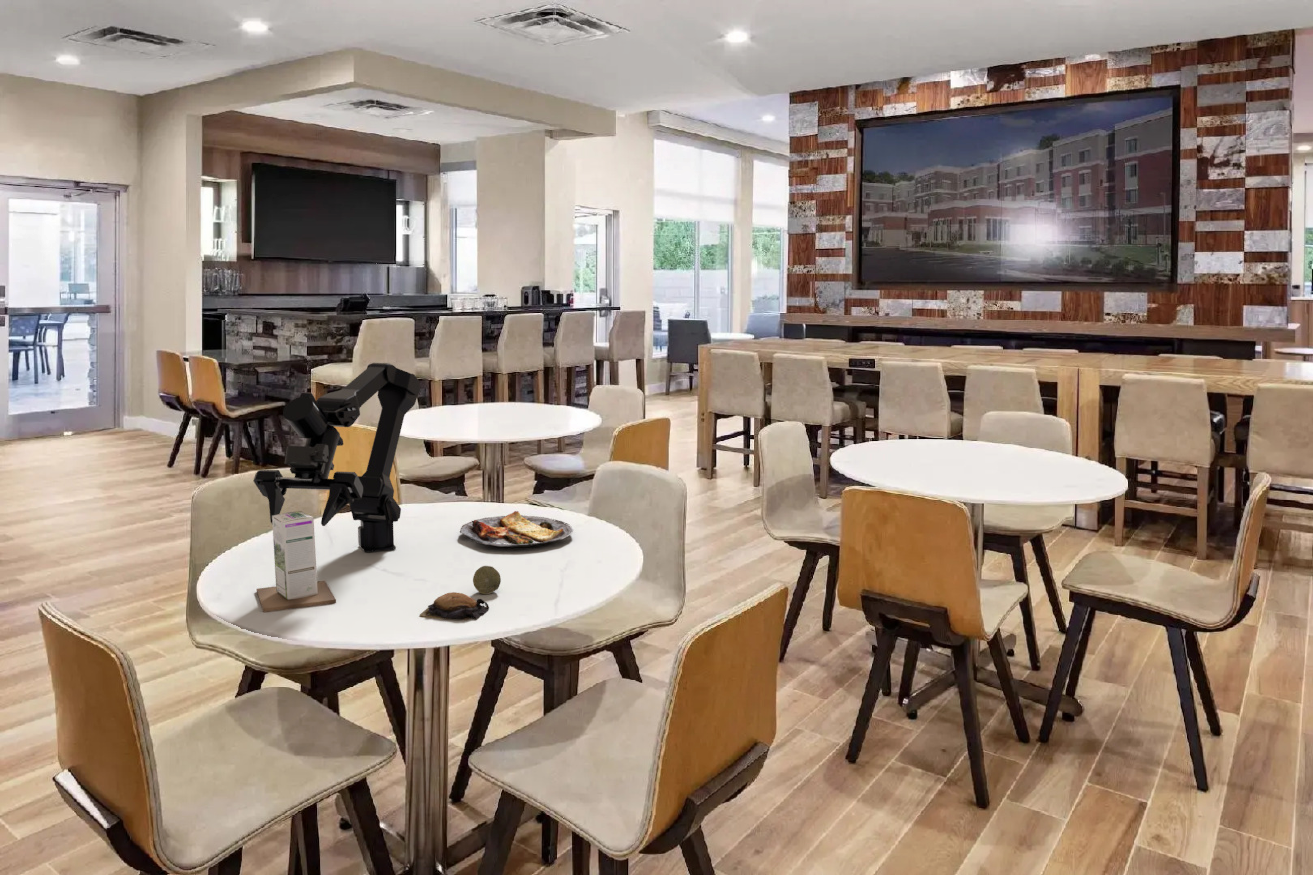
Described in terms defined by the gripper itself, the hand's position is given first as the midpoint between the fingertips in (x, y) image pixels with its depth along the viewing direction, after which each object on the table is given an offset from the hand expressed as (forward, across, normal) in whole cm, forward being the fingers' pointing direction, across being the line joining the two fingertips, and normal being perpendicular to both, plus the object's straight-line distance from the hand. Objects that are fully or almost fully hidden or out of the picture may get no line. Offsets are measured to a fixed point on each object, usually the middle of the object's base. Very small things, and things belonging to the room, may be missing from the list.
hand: (297, 524), depth 177 cm
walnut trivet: (+11, 0, +8) cm, 13 cm away
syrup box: (+10, 0, +8) cm, 13 cm away
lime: (+6, +33, +12) cm, 36 cm away
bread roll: (+15, +30, +5) cm, 34 cm away
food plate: (-21, +31, +41) cm, 55 cm away
